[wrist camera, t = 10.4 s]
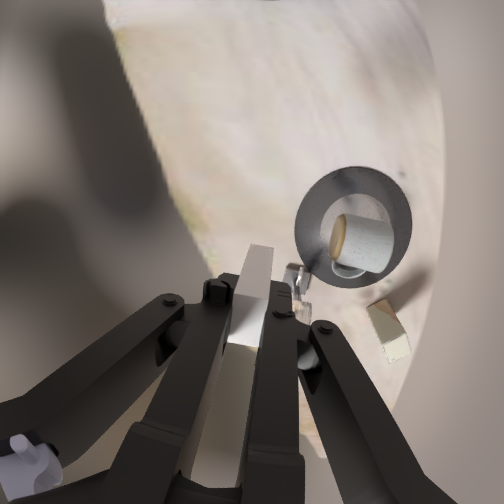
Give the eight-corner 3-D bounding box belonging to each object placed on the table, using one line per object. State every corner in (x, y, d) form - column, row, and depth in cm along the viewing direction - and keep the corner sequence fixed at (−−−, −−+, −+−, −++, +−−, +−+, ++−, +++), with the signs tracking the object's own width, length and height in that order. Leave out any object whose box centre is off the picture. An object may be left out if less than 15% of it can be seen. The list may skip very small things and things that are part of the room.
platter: (307, 154, 38) (307, 154, 37) (422, 185, 37) (423, 185, 36) (283, 277, 45) (283, 278, 44) (390, 294, 44) (391, 295, 43)
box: (392, 317, 45) (412, 354, 35) (372, 327, 46) (388, 366, 36) (385, 296, 44) (406, 332, 34) (364, 307, 45) (381, 345, 35)
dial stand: (288, 255, 43) (290, 301, 30) (312, 259, 43) (324, 306, 30) (280, 290, 46) (279, 345, 32) (303, 294, 45) (310, 349, 32)
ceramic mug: (334, 206, 39) (345, 219, 32) (382, 217, 39) (401, 232, 32) (319, 269, 43) (325, 293, 36) (364, 277, 43) (377, 301, 36)
